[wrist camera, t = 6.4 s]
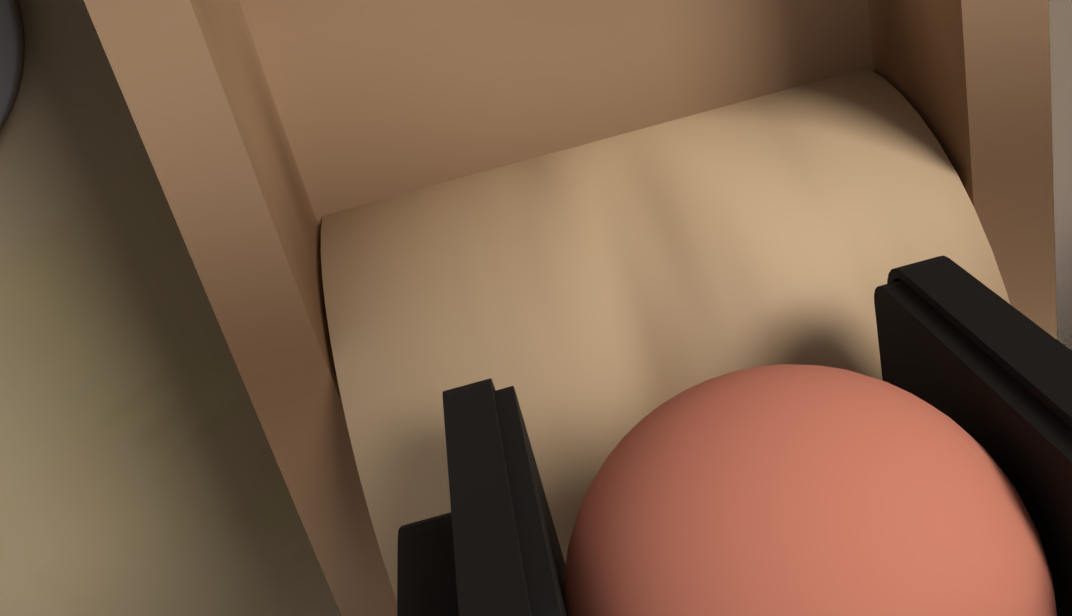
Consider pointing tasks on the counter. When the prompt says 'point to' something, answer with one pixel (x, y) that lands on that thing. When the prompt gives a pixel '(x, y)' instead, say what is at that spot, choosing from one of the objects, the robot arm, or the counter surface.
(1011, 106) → the wooden trough
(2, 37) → the stand
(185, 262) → the counter surface
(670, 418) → the ball
